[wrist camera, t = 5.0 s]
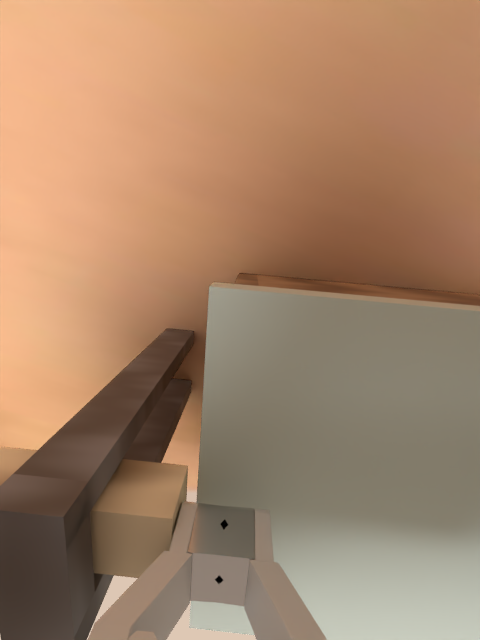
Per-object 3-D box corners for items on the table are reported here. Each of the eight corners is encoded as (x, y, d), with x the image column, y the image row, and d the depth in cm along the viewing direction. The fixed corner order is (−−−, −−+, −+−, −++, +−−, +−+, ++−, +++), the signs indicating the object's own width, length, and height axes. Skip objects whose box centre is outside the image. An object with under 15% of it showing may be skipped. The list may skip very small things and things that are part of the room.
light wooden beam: (187, 465, 10) (172, 518, 8) (185, 519, 10) (170, 581, 9) (-36, 442, 10) (-105, 489, 8) (-26, 497, 11) (-88, 553, 9)
